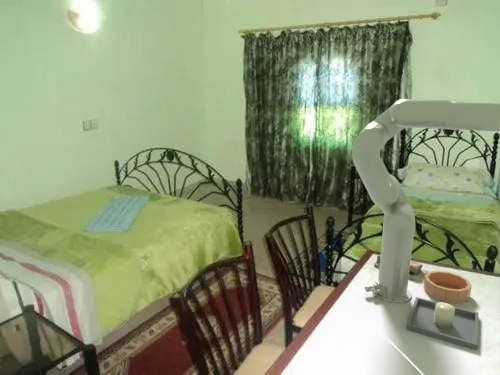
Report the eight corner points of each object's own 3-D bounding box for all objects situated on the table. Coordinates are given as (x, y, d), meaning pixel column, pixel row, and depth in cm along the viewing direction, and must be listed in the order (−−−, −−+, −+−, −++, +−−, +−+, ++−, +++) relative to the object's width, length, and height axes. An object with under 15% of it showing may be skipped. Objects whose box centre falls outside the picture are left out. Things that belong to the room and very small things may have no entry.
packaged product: (373, 255, 154) (385, 249, 161) (372, 266, 155) (384, 259, 162) (419, 270, 141) (429, 262, 148) (417, 282, 143) (428, 274, 149)
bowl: (443, 306, 126) (445, 293, 125) (415, 286, 139) (416, 273, 138) (478, 301, 130) (480, 287, 128) (447, 281, 143) (449, 269, 141)
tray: (476, 352, 104) (477, 345, 104) (405, 331, 113) (406, 324, 113) (477, 319, 119) (478, 312, 119) (415, 302, 128) (416, 296, 128)
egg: (441, 329, 113) (444, 313, 112) (429, 319, 118) (431, 303, 117) (456, 326, 114) (459, 310, 113) (443, 317, 119) (446, 301, 118)
